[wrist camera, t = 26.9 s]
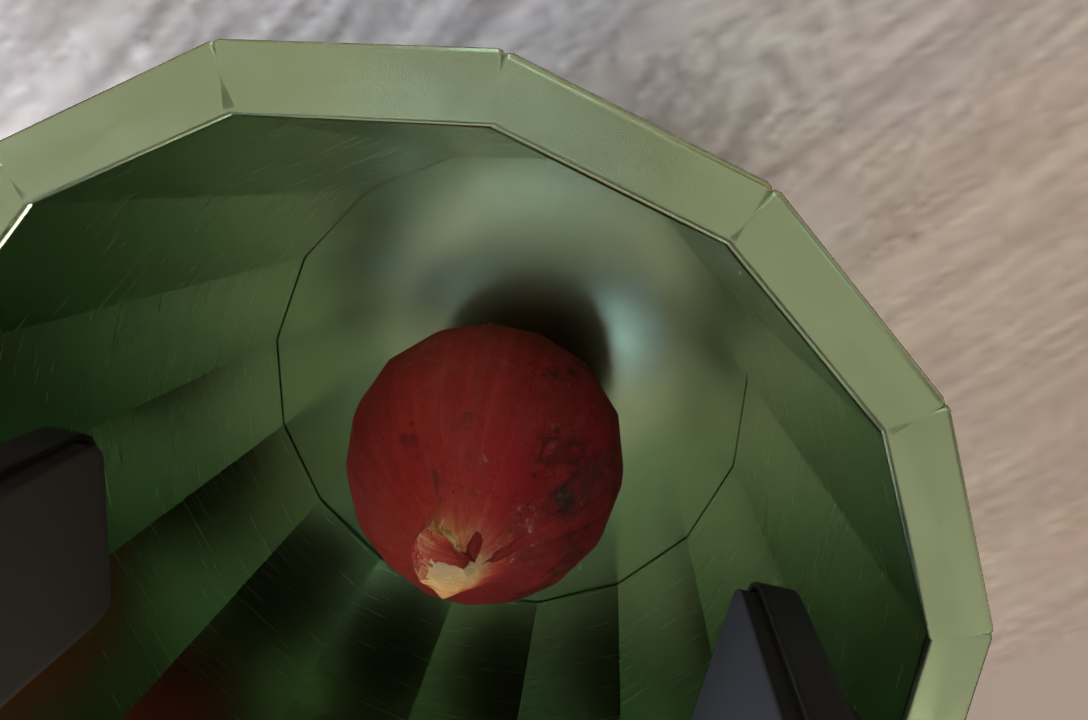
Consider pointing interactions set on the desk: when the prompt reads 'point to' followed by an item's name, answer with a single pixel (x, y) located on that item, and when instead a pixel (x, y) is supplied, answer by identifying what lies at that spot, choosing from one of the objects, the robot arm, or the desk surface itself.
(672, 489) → the pot
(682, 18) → the desk surface
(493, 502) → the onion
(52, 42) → the desk surface
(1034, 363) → the desk surface
